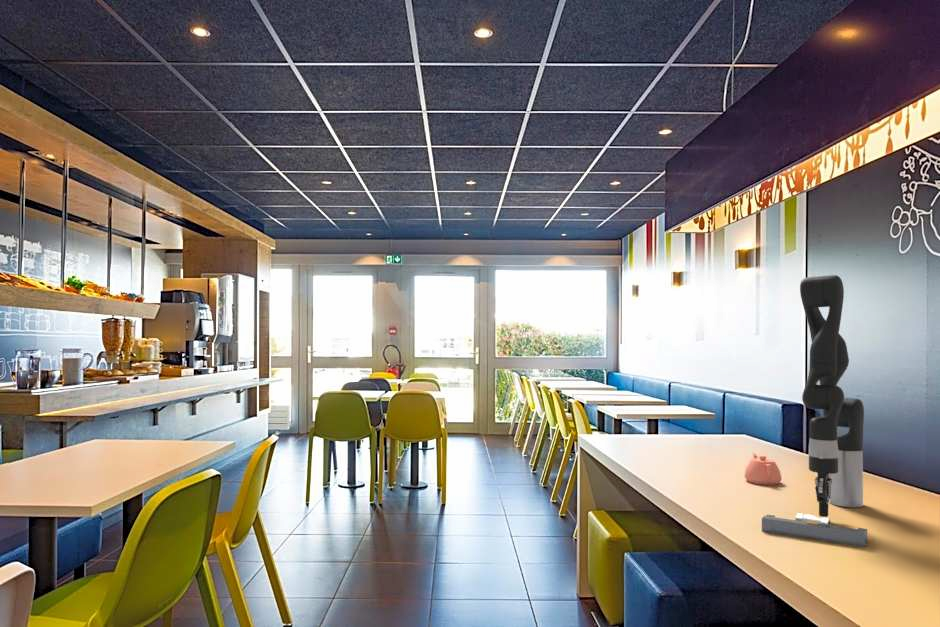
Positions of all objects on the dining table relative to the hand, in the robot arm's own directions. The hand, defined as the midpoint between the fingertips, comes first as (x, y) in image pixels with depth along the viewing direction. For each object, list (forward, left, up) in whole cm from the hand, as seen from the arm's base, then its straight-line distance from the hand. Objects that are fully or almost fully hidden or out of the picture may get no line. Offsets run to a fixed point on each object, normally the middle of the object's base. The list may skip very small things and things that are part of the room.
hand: (823, 516), depth 195 cm
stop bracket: (+19, 0, -1) cm, 19 cm away
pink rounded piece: (-47, -26, -2) cm, 54 cm away
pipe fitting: (+10, -1, -2) cm, 11 cm away
